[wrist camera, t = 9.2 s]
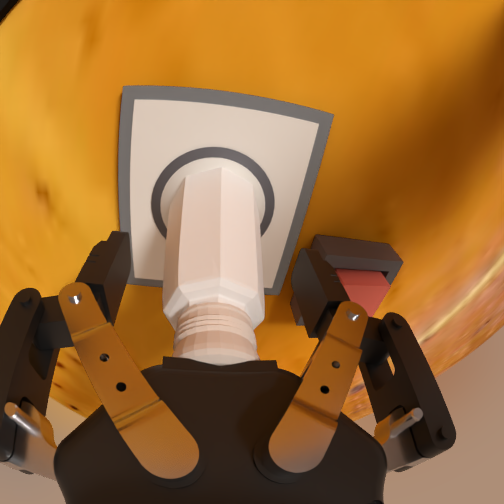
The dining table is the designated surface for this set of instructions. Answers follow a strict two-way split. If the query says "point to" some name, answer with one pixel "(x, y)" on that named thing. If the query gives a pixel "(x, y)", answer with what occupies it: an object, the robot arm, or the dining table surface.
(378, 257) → the button housing
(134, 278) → the board
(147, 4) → the dining table surface
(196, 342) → the salt shaker
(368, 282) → the button
